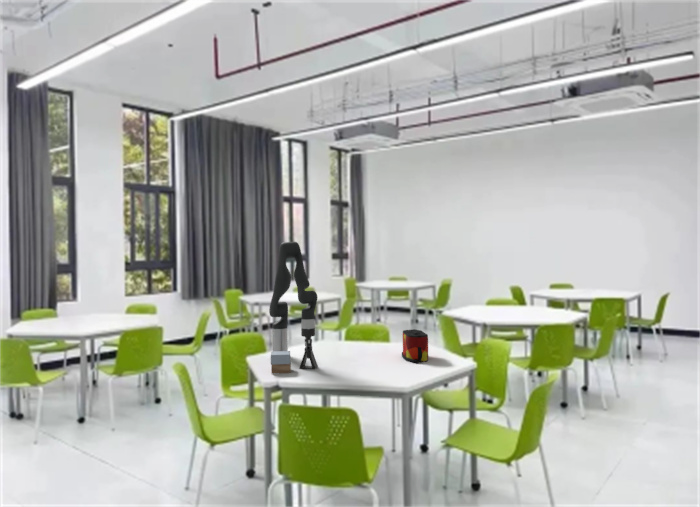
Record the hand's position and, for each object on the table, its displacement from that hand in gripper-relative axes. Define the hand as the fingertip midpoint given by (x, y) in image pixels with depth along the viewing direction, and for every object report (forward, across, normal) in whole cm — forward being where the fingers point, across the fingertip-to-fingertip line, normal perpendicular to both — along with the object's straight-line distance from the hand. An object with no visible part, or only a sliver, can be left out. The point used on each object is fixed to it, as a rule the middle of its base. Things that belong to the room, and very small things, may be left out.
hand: (308, 356), depth 285 cm
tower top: (+1, +6, -15) cm, 16 cm away
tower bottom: (+6, +6, -15) cm, 17 cm away
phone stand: (+6, 0, 0) cm, 6 cm away
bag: (+6, -14, +64) cm, 65 cm away
